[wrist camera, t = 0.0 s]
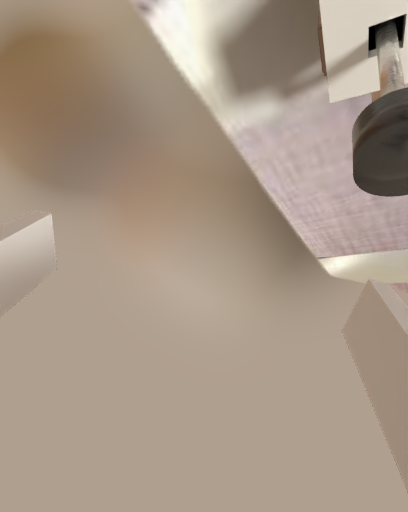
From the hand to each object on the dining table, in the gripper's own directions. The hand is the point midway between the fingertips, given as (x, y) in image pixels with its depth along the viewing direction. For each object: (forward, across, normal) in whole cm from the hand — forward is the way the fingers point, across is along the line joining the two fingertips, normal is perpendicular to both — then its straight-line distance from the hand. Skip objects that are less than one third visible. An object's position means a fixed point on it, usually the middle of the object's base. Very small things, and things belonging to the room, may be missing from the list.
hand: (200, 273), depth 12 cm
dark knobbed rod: (+22, +10, +15) cm, 29 cm away
